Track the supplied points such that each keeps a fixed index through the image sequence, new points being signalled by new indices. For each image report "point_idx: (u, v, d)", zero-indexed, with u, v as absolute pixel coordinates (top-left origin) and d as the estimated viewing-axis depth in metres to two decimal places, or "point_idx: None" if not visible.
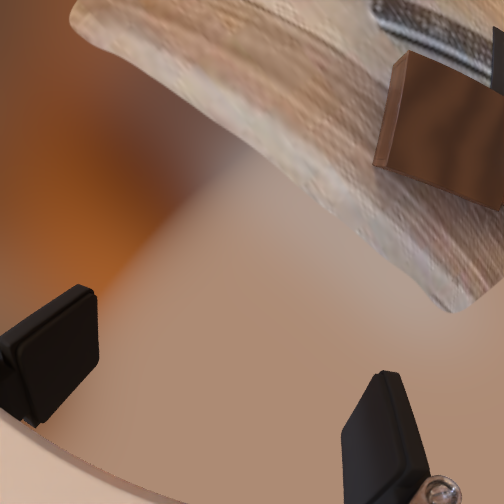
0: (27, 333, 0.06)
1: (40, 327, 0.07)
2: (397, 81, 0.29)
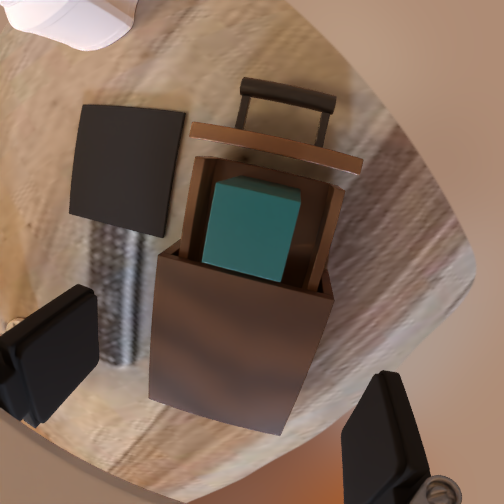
0: (27, 333, 0.06)
1: (40, 327, 0.07)
2: None
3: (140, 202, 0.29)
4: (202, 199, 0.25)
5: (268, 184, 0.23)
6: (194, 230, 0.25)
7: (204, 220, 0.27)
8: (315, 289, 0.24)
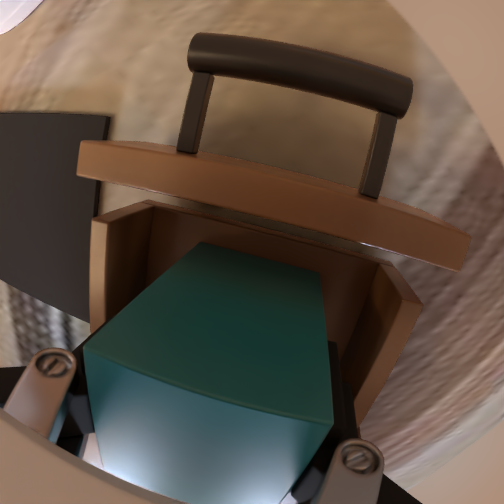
0: None
1: None
2: None
3: (55, 267, 0.17)
4: (123, 295, 0.12)
5: (251, 281, 0.10)
6: None
7: None
8: None
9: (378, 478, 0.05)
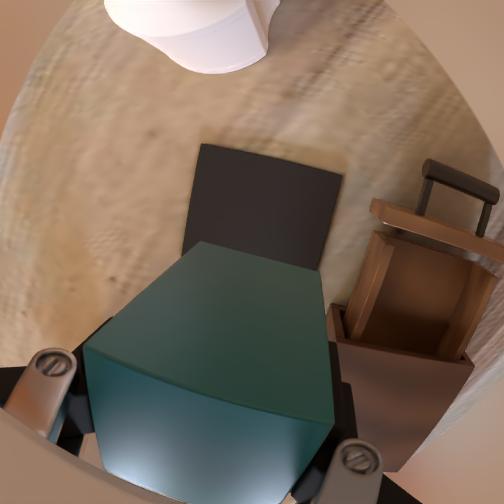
0: None
1: None
2: None
3: None
4: None
5: (251, 280, 0.10)
6: None
7: None
8: (459, 357, 0.22)
9: (378, 478, 0.05)
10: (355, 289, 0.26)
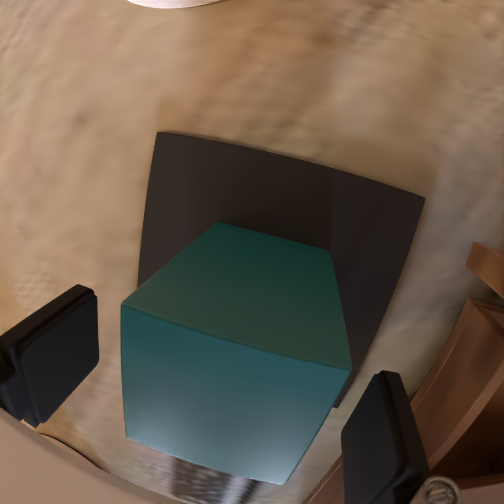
0: (27, 332, 0.06)
1: (40, 327, 0.07)
2: None
3: None
4: None
5: (268, 254, 0.11)
6: None
7: None
8: None
9: None
10: (424, 391, 0.13)
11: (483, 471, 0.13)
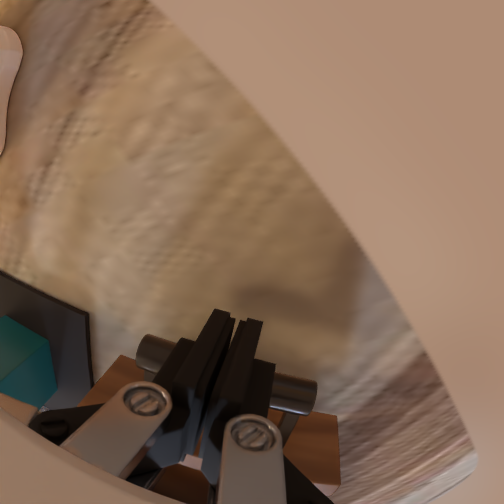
0: (202, 369, 0.07)
1: (208, 361, 0.08)
2: None
3: (64, 398, 0.20)
4: None
5: (3, 343, 0.16)
6: None
7: None
8: None
9: (279, 451, 0.06)
10: None
11: None
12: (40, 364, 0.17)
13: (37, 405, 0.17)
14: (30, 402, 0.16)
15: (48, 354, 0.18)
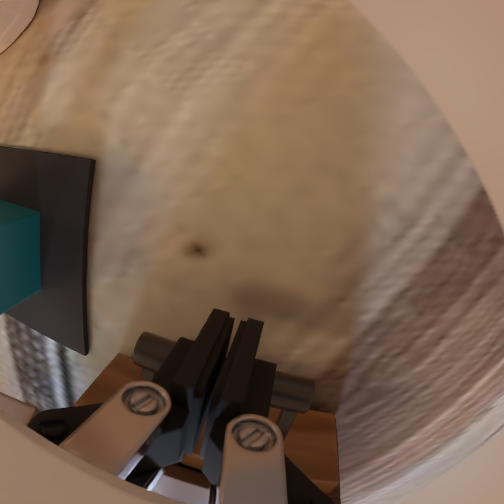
0: (201, 369, 0.07)
1: (207, 360, 0.08)
2: None
3: (48, 301, 0.17)
4: None
5: None
6: None
7: None
8: None
9: (281, 451, 0.06)
10: None
11: None
12: (25, 239, 0.14)
13: (12, 298, 0.14)
14: (4, 288, 0.13)
15: (37, 232, 0.15)
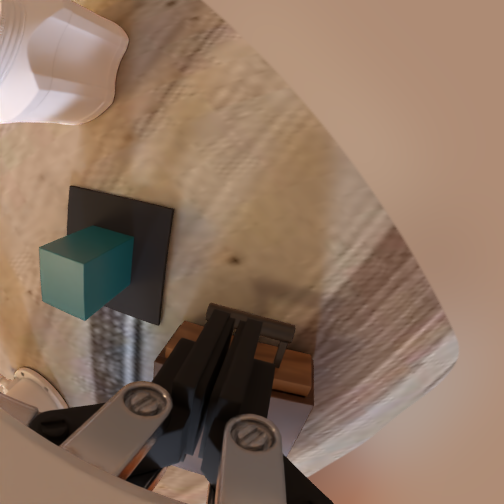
0: (203, 370, 0.07)
1: (208, 361, 0.08)
2: None
3: (135, 292, 0.30)
4: None
5: (98, 237, 0.26)
6: None
7: None
8: None
9: (279, 451, 0.06)
10: None
11: None
12: (126, 254, 0.28)
13: (117, 290, 0.27)
14: (114, 283, 0.26)
15: (131, 249, 0.28)
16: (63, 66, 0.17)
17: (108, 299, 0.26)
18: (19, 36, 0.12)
